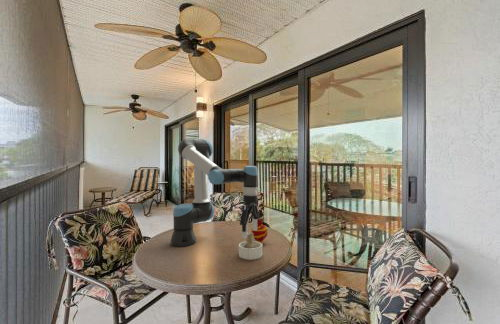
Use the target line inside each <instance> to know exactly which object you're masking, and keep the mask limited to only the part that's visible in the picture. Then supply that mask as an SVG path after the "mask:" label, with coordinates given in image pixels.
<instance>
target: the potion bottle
mask: <svg viewBox="0 0 500 324" xmlns="http://www.w3.org/2000/svg"><path fill="white" fill-rule="evenodd" d="M263 222H264V221H263V217H259V219H257V231H254V230H252V228H251V232H250V233H254V240H255V241H257V242H260V243H262V245H263V244H264V240H265V239H266V238H267V237H268V233H269V232H268V231H269V230H268V228H267V227H266V225H264V224H263Z"/></svg>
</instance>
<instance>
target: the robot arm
mask: <svg viewBox="0 0 500 324" xmlns="http://www.w3.org/2000/svg"><path fill="white" fill-rule="evenodd" d="M177 151H178V155H180V156H181V158H182V159H184V160H185V161H189V162H190V163H191V164H192V165H193V177H194V179H193V183H194V199H193V201H191V202H192V203H189V202H187V203H181V204H177V205H176V206H175V207H174V208H173V213H172V214H173V232H172V235H171V239H170V245H171V246H173V247H178V248H182V247H188V246H193V245H195V244H196V243H197V237H196V235H195V231H194V225H195V224H198V223H202V222H208V221H210V220H211V219H213V217H214V215H215V206H214V205H213V203H211V200H210V199H209V193H208V192H209V189H208V188H209V186H208V182H209V183H211V184H212V185H222V184H233V183H241V184H243V186H242V187H243V190H242V191H243V193H242V194H243V197H242V198H243V202H244V203H245V205H242V211H241V216H240V221H239V225H240V226H241V238H244V239H246V238H247V232H248V221H249V218H250V215H251V216H252V220H251V221H252V223H251V226H252V227H251V229H252V230H254V231H257V219H259V218H260V214H259V208H258V195H257V194H258V190H259V189H258V178H259V177H258V176H259V172H258V171H259V170H258V167H257V166H256V165H244V166H243V168H234V167H233V168H221V167H220V166H219V165H217V164H216V163H214V162H213V161H212V160H210V157H212V155H213V152H214V148H213V144H212V143H211V142H210V141H209V140H207V139H204V138H203V139H202V138H185V139H183V140H181V141H180V142H179V144H178V146H177ZM252 230H251V231H252Z"/></svg>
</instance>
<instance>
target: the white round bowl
mask: <svg viewBox="0 0 500 324" xmlns="http://www.w3.org/2000/svg"><path fill="white" fill-rule="evenodd" d="M238 257H239V258H240V259H242V260H247V261H248V260H249V261H250V260H251V261H252V260H258V259H261V258H262V257H263V244H262V243H260V242H257V241H256V240H255V241H254V248H246V240H245V241H241V242H240V243H238Z"/></svg>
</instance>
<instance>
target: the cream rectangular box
mask: <svg viewBox="0 0 500 324" xmlns="http://www.w3.org/2000/svg"><path fill="white" fill-rule="evenodd" d="M245 239H246V240H245V241H246V248H254V240H255V239H254V233H252V232H248V231H247V238H245Z"/></svg>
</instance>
